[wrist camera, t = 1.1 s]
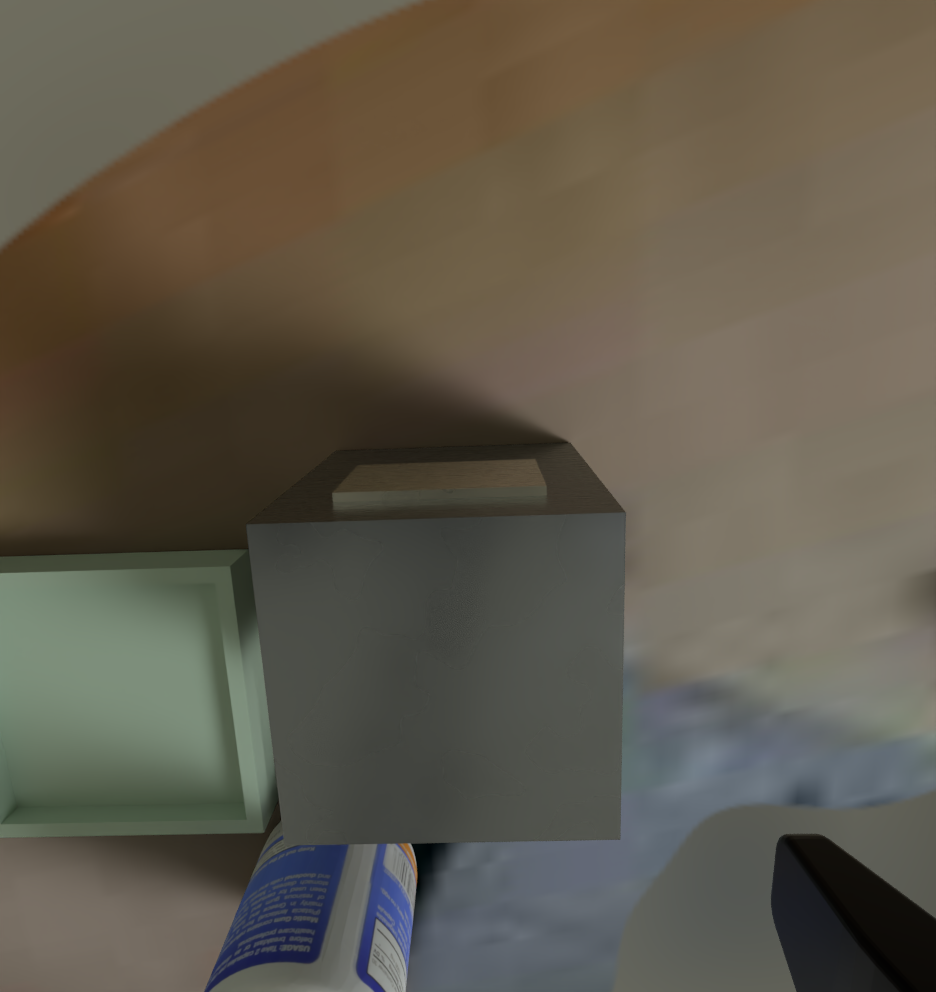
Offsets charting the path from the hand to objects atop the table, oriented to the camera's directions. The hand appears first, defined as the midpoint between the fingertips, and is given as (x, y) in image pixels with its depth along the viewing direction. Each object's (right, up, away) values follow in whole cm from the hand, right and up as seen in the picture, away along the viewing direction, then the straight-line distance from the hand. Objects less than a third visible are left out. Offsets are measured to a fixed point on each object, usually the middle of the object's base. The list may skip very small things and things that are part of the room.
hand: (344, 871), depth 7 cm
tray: (-10, -2, +15) cm, 18 cm away
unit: (+1, +2, +14) cm, 14 cm away
